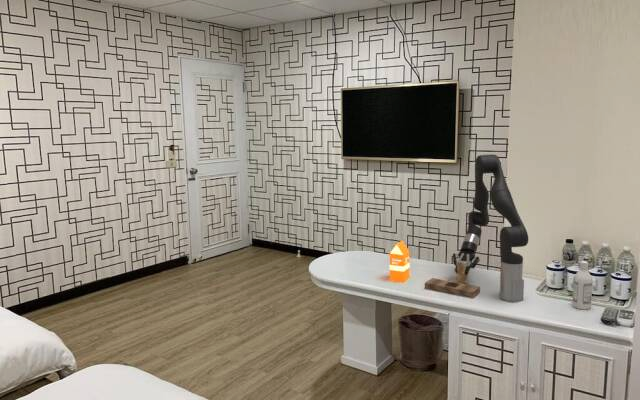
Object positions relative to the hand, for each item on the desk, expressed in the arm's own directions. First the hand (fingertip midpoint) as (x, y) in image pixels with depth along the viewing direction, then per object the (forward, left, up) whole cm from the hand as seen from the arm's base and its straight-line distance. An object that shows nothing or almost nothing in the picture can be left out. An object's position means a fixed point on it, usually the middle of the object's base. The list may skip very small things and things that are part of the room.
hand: (461, 273), depth 234 cm
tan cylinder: (+1, -2, -5) cm, 5 cm away
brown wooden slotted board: (-5, +10, -6) cm, 12 cm away
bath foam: (-46, -26, -6) cm, 54 cm away
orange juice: (+21, +23, -6) cm, 31 cm away
